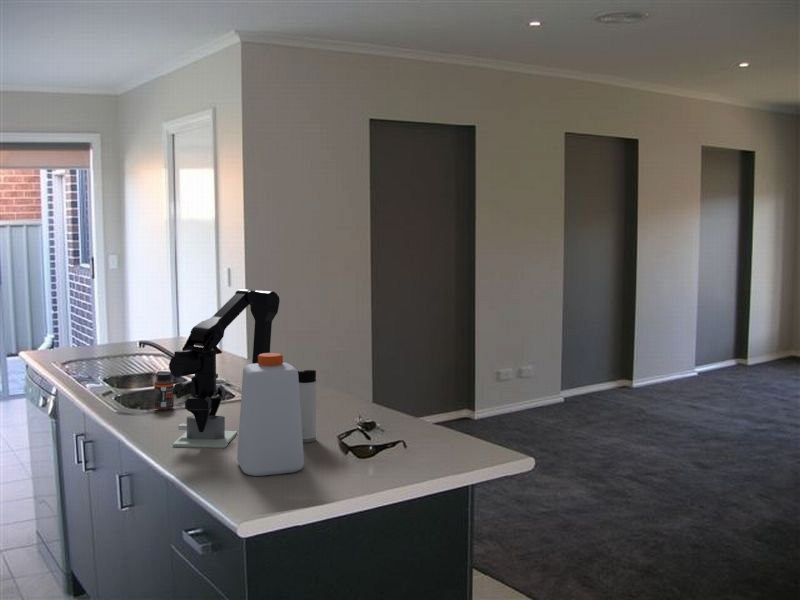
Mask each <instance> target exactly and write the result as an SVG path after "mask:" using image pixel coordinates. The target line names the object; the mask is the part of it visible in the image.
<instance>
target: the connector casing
mask: <svg viewBox="0 0 800 600" xmlns="http://www.w3.org/2000/svg"><path fill="white" fill-rule="evenodd" d="M225 419H226V417H225V416H223V415H215V416H209V417H208V420H207V423H206V426H205V429H204V431H203V432H199V430H198V426H197V423H196V420H195V417H194V415H188V416H186V423H180V424H179V425H178V426H177V427H178V431H187V438H189V439H223V438H225V431H226V429H225V428H226V424H225V423H226V420H225Z"/></svg>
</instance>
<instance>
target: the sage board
mask: <svg viewBox="0 0 800 600" xmlns="http://www.w3.org/2000/svg"><path fill="white" fill-rule="evenodd" d="M237 435H238V431H237V430H225V438H223V439H189V438H187V430H185V432H184V433H183V434H182V435H181V436H179V438H177V439H176V440H175V441H174V442H173V443H172V447H174V448H176V447H177V448H213V449H214V448H219V449H224V448H226V447H227V446H228V443H229V442H230V443H231V441H232V440H233V439H234V438H235V437H236V436H237ZM230 443H229V444H230Z"/></svg>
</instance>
